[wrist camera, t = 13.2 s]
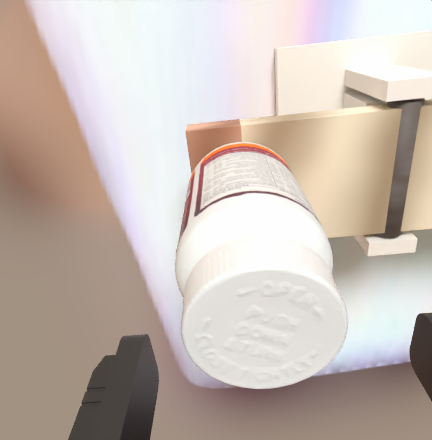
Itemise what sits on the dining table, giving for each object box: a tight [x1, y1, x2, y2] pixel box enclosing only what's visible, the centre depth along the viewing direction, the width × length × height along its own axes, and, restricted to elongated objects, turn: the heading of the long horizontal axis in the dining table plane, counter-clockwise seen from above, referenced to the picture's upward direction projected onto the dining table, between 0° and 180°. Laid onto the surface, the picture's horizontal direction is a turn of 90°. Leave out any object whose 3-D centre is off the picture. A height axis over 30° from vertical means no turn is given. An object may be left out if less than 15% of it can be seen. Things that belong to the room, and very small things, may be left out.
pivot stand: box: [275, 30, 432, 256], centre depth 23 cm, size 12×14×8 cm
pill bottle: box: [175, 142, 348, 389], centre depth 16 cm, size 6×6×11 cm
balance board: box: [186, 98, 432, 238], centre depth 21 cm, size 24×8×2 cm, turn 96°
